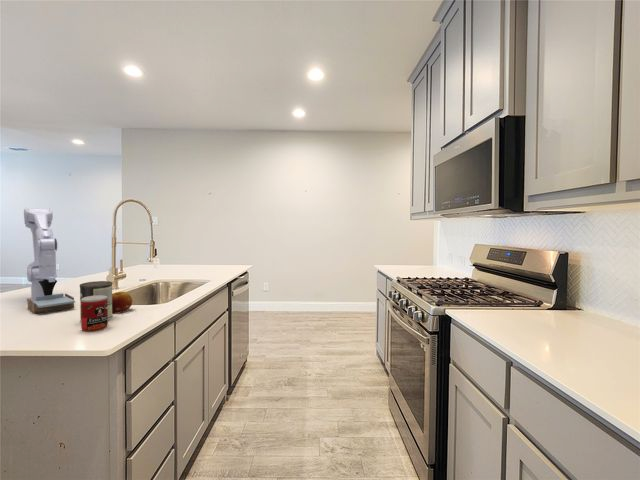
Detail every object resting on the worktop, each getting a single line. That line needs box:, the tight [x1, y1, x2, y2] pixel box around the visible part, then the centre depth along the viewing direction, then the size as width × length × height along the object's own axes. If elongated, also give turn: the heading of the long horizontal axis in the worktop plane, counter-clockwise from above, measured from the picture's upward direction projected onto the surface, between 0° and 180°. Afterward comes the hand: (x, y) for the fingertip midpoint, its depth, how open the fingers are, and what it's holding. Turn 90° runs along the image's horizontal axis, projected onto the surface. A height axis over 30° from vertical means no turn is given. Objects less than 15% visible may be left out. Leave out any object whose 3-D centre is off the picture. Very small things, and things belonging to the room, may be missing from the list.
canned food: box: [80, 295, 109, 333], centre depth 110 cm, size 8×8×11 cm
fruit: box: [112, 291, 133, 313], centre depth 132 cm, size 10×9×8 cm
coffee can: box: [79, 280, 113, 323], centre depth 120 cm, size 10×10×14 cm
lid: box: [33, 293, 76, 308], centre depth 132 cm, size 12×12×2 cm
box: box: [27, 293, 75, 315], centre depth 134 cm, size 12×13×4 cm
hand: (48, 296), depth 137 cm, fingers closed
